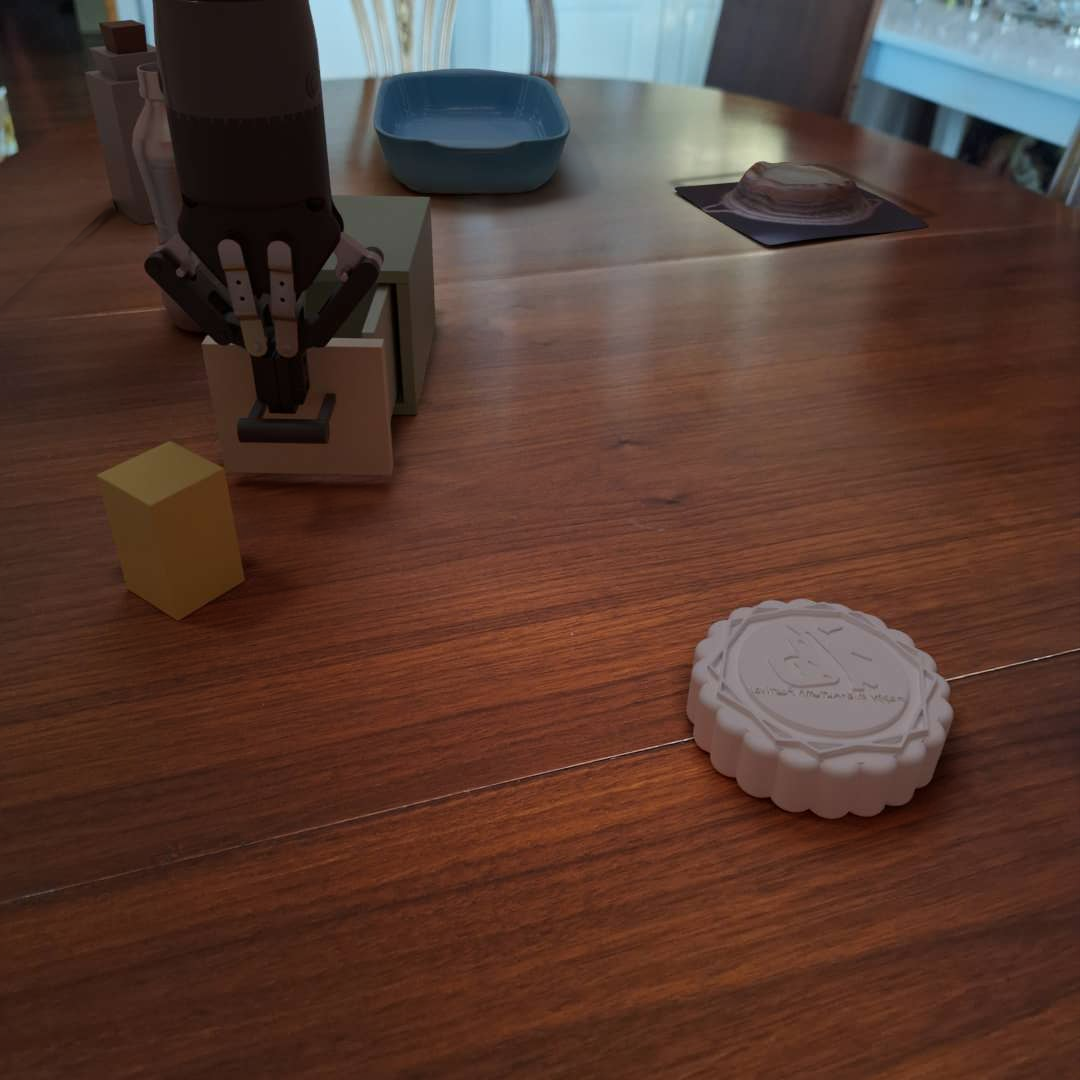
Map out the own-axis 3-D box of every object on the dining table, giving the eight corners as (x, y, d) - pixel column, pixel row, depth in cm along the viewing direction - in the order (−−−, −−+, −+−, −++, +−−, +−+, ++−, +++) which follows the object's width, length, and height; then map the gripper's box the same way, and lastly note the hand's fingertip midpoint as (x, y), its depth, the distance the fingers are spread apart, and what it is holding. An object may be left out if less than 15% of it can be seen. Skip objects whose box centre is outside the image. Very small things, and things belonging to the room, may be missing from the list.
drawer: (381, 519, 62) (370, 385, 57) (204, 515, 62) (176, 381, 57) (414, 373, 78) (408, 258, 73) (273, 370, 78) (257, 255, 73)
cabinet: (416, 415, 75) (408, 271, 68) (252, 412, 75) (229, 267, 68) (435, 325, 87) (430, 196, 81) (295, 322, 87) (279, 193, 81)
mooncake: (907, 648, 55) (923, 595, 53) (968, 831, 45) (991, 775, 43) (680, 635, 55) (686, 582, 53) (692, 813, 46) (701, 757, 44)
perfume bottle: (175, 196, 114) (141, 15, 103) (202, 212, 110) (169, 25, 99) (115, 208, 110) (73, 22, 100) (140, 225, 106) (99, 32, 96)
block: (177, 622, 56) (149, 505, 51) (126, 588, 58) (95, 474, 53) (245, 581, 59) (224, 467, 54) (194, 550, 61) (170, 439, 56)
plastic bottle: (242, 305, 90) (202, 55, 78) (254, 336, 85) (213, 74, 73) (165, 314, 88) (112, 60, 77) (172, 347, 83) (117, 79, 71)
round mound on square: (767, 249, 104) (773, 209, 101) (669, 191, 119) (673, 155, 117) (933, 226, 111) (942, 188, 108) (821, 174, 126) (827, 140, 123)
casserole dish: (579, 207, 113) (582, 139, 109) (374, 209, 112) (368, 140, 107) (546, 122, 143) (547, 66, 139) (384, 123, 141) (380, 66, 137)
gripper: (389, 79, 54) (405, 381, 64) (133, 72, 54) (190, 375, 64) (368, 115, 48) (390, 443, 58) (79, 107, 47) (152, 436, 58)
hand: (285, 407), depth 61 cm, fingers closed
